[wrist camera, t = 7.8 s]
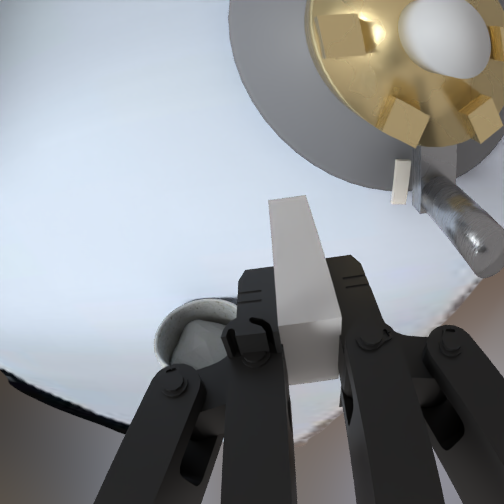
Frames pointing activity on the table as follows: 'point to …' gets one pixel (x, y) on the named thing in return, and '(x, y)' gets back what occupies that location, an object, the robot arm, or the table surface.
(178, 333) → the ceramic mug
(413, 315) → the table surface
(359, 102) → the gold crank wheel
